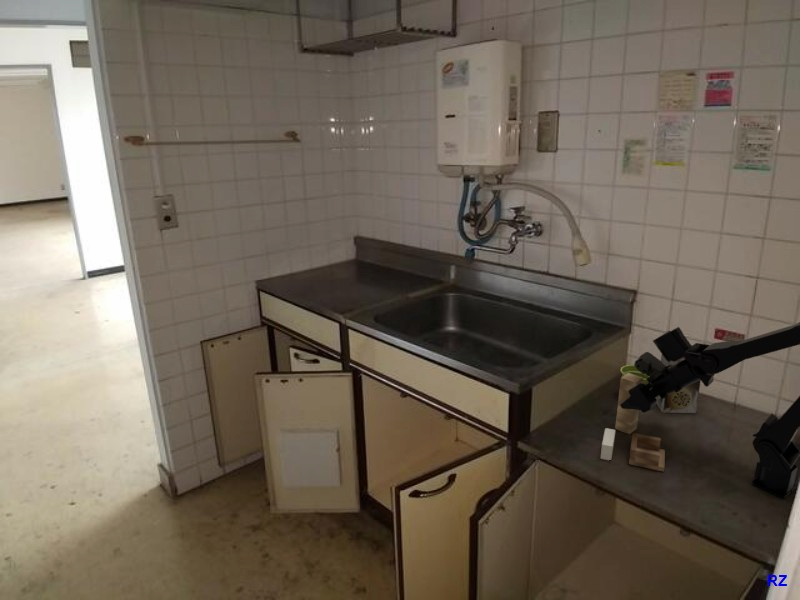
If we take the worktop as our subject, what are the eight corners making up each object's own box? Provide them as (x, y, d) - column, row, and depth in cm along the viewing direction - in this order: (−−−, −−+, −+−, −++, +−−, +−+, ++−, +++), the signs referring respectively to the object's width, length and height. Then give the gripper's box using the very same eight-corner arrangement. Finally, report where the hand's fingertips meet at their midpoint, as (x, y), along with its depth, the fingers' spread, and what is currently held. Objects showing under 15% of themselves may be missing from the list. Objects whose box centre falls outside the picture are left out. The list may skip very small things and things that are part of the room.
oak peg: (636, 428, 147) (643, 377, 142) (629, 434, 144) (636, 382, 140) (622, 423, 150) (628, 372, 145) (615, 428, 147) (620, 377, 142)
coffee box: (687, 402, 159) (695, 351, 154) (696, 414, 153) (705, 360, 148) (654, 401, 160) (661, 350, 155) (662, 413, 154) (669, 360, 149)
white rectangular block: (613, 443, 140) (615, 430, 139) (610, 460, 133) (612, 446, 132) (603, 441, 141) (605, 428, 140) (600, 458, 134) (602, 444, 133)
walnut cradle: (664, 453, 136) (666, 439, 134) (663, 471, 129) (666, 456, 127) (630, 446, 139) (632, 432, 137) (628, 464, 132) (630, 449, 131)
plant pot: (635, 388, 168) (638, 362, 165) (659, 402, 160) (663, 375, 157) (610, 394, 165) (613, 368, 162) (634, 408, 157) (637, 381, 154)
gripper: (674, 337, 141) (627, 363, 152) (641, 358, 129) (593, 385, 140) (702, 374, 138) (652, 398, 149) (671, 400, 126) (619, 424, 137)
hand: (629, 400), depth 144 cm, fingers open, 9 cm apart
